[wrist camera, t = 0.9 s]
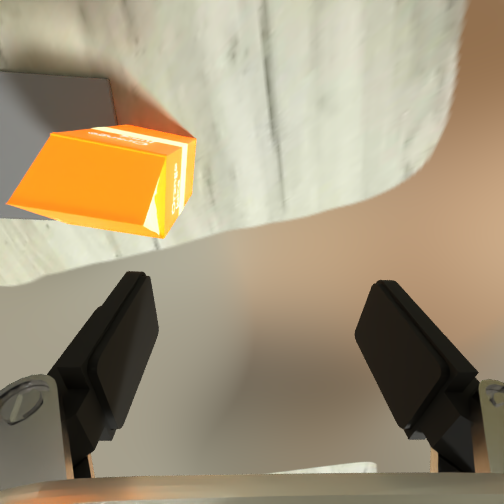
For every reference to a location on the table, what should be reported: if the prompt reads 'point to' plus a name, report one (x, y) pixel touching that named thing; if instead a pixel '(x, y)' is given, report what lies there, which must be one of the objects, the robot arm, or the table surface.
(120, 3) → the table surface
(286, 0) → the table surface
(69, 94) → the mat
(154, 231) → the orange juice
